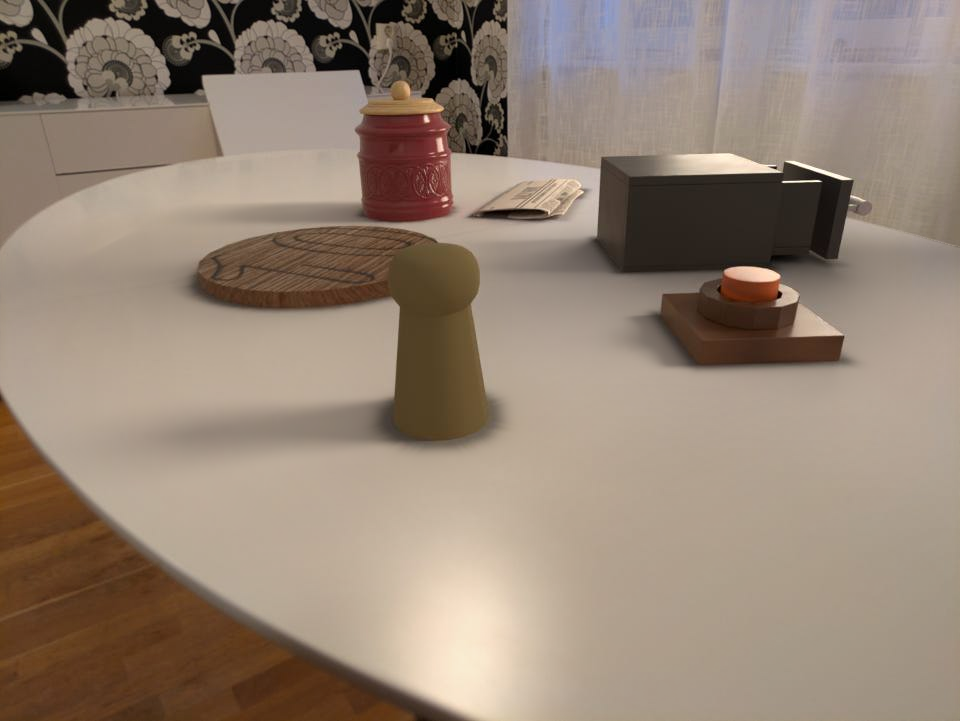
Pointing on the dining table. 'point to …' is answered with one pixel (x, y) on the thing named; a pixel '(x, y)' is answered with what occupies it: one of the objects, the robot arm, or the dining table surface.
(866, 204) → the dark piece
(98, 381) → the dining table surface
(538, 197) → the newspaper
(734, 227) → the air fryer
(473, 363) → the olive game pawn
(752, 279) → the button
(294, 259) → the trivet
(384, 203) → the kitchen canister
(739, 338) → the control block
